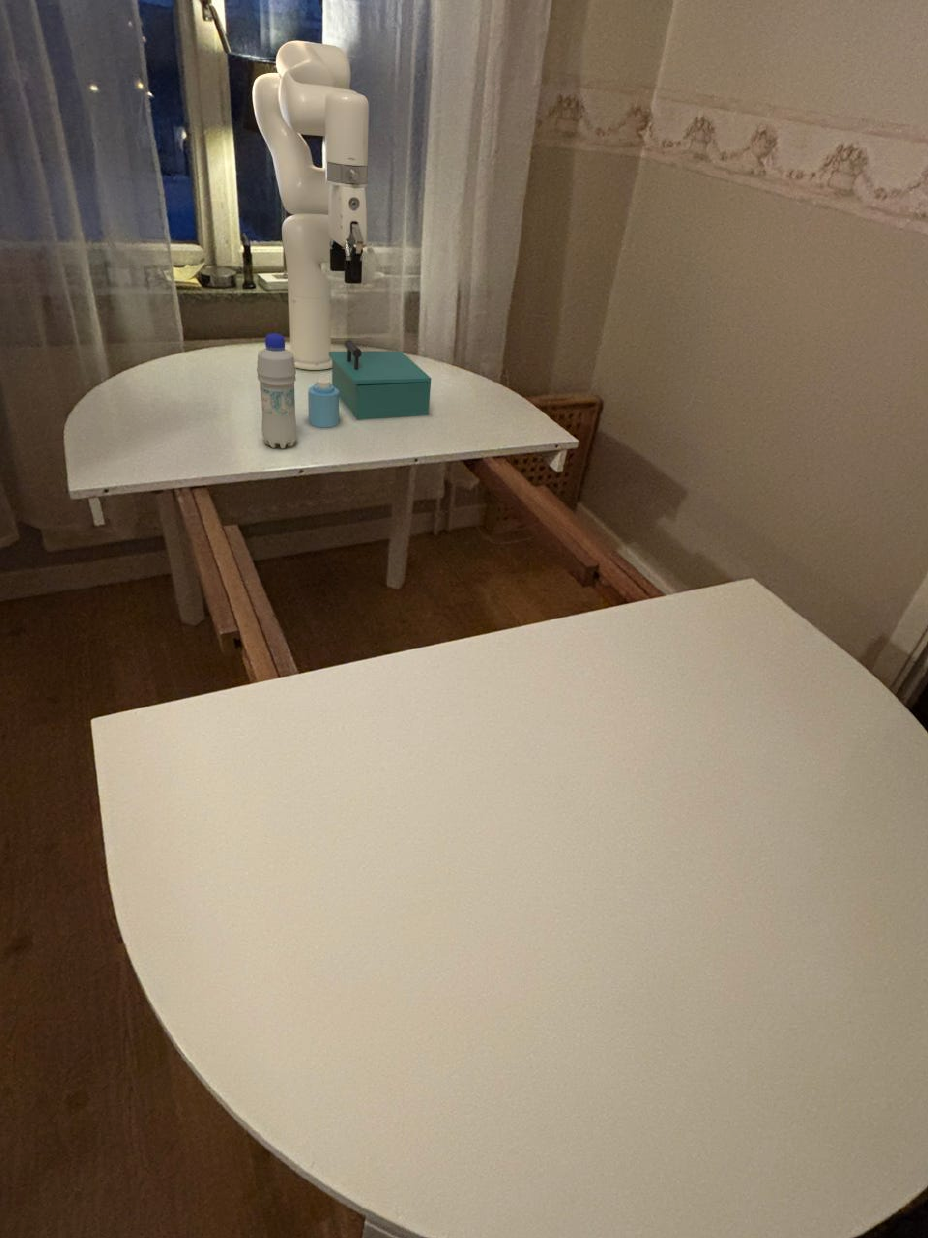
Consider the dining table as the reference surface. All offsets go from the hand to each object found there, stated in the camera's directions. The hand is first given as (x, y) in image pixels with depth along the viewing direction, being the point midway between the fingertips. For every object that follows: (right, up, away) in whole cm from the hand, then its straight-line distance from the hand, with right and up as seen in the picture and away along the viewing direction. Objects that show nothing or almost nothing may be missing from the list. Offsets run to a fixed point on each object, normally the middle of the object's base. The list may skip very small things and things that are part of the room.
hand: (345, 276), depth 143 cm
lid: (+5, -13, +14) cm, 20 cm away
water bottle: (-5, -27, +6) cm, 28 cm away
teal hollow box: (+5, -19, +18) cm, 27 cm away
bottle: (-12, -34, -5) cm, 36 cm away
